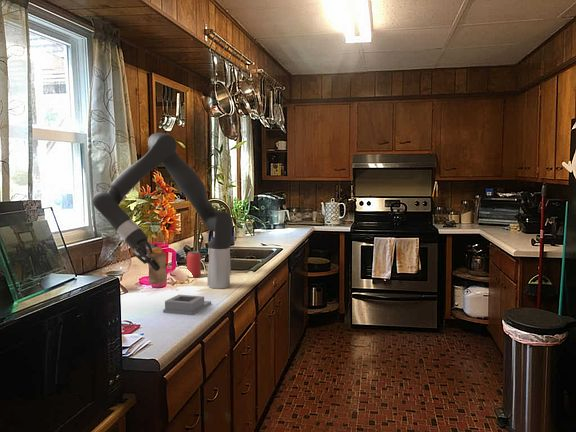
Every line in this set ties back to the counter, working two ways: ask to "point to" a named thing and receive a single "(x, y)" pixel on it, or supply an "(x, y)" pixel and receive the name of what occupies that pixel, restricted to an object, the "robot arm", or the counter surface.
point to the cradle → (185, 304)
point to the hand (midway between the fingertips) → (161, 268)
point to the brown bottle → (160, 259)
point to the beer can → (194, 263)
